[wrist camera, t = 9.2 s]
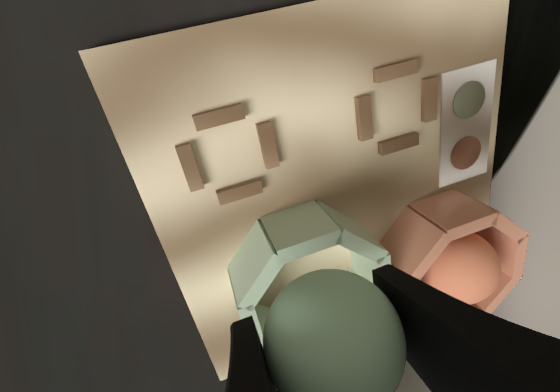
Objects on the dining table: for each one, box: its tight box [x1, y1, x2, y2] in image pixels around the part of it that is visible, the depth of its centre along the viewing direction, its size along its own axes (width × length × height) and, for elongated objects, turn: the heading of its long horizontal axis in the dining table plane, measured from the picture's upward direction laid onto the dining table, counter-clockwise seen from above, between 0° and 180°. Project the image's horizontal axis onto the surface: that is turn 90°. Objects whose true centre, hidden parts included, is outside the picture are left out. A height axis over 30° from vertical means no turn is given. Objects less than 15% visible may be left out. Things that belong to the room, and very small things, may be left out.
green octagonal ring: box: [227, 200, 391, 347], centre depth 17 cm, size 7×7×3 cm
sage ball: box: [263, 269, 406, 392], centre depth 10 cm, size 4×4×4 cm
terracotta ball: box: [422, 233, 501, 304], centre depth 19 cm, size 4×4×4 cm
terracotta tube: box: [379, 189, 529, 314], centre depth 19 cm, size 7×7×3 cm
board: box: [78, 0, 509, 381], centre depth 17 cm, size 18×18×1 cm
